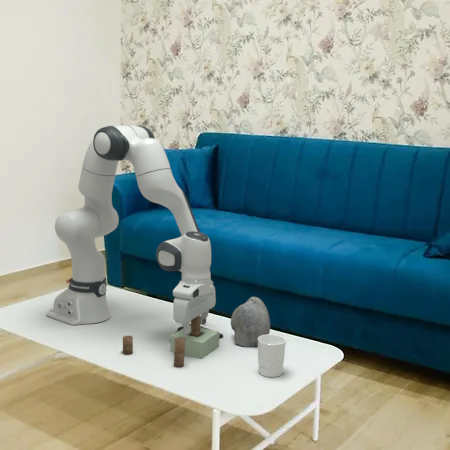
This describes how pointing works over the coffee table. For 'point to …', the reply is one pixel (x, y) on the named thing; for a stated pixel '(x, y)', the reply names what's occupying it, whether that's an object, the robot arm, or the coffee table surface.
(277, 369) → the white cup
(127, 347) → the pin short
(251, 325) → the decorative stone
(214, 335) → the socket block
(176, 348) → the pin medium
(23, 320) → the coffee table surface
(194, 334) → the pin long
